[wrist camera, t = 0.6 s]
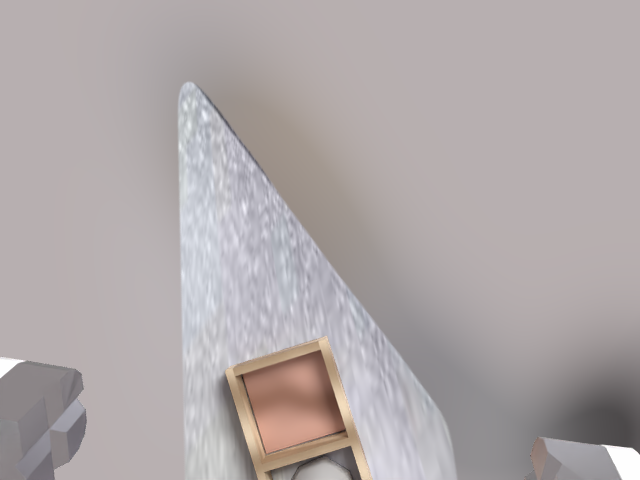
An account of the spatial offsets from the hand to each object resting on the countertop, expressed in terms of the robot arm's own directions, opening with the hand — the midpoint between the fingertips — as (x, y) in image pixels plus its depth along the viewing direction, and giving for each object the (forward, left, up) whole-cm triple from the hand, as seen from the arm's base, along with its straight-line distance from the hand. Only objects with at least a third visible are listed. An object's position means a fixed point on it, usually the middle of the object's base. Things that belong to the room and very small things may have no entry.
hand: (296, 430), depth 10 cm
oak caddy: (-14, +8, -48) cm, 50 cm away
